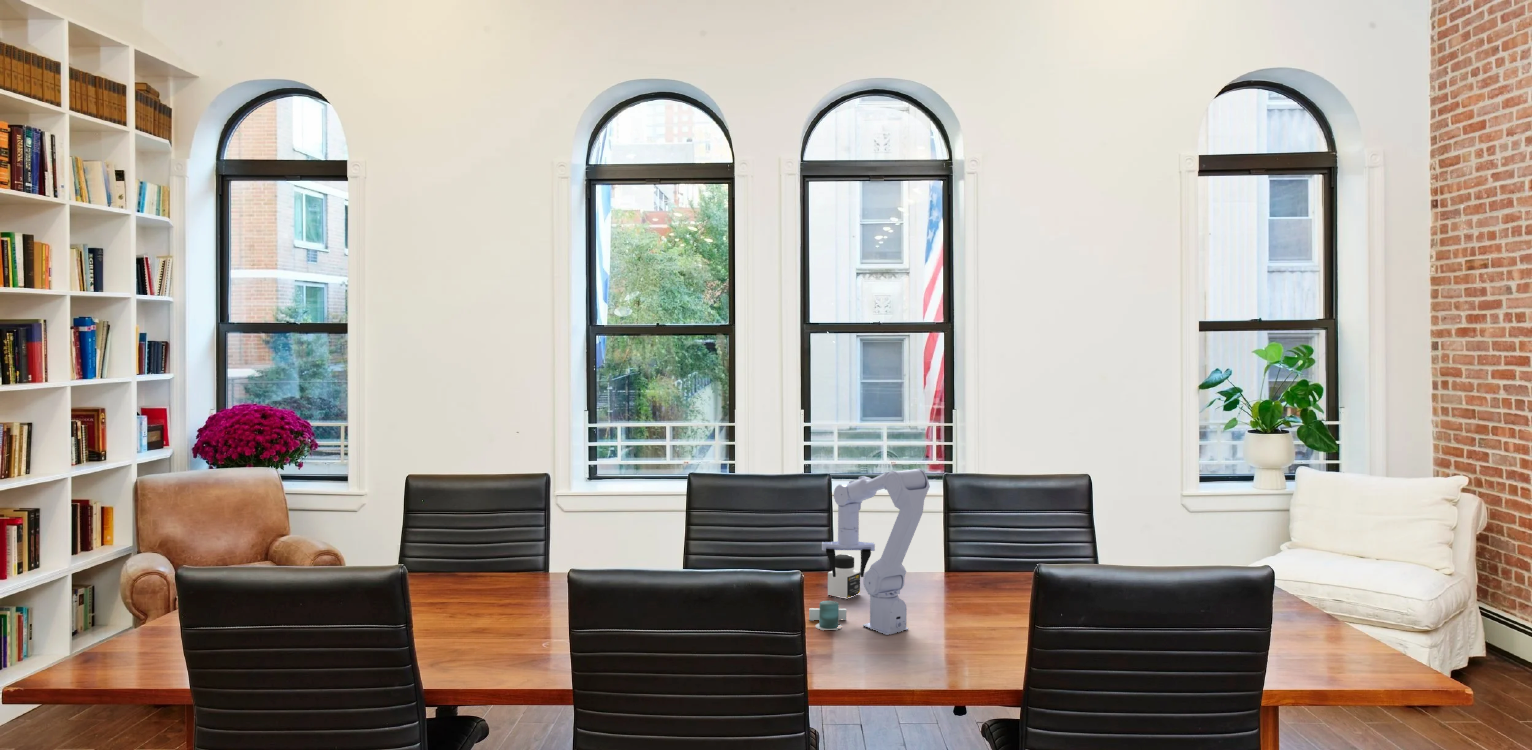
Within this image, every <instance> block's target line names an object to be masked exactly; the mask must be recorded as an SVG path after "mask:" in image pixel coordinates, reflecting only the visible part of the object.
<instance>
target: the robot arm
mask: <svg viewBox="0 0 1532 750" xmlns="http://www.w3.org/2000/svg"><path fill="white" fill-rule="evenodd" d="M883 489H884V491H885V490H886V491H887V493H888V495H889V497H890V499H891V501H892V503H893V506H894V507H895V508H897V509H898V510H899V512H898V514H897V517H896V519H895V521H894V524H893V526H892V529H891V532H890V534H889V537H888V539H887V542H886V544H885V546H884V549H883V551H882V554H881V557H880V558H879V559H877V560H876V561H875V562H874V563H872V564H870V567H869V569H868V570H867V571H865V570H866V567H867V564H868V561H869V560H870V557H871V555H872V552H875V551H876V549H875V547H876V543H875V542H869V541H868V542H866V541H859V539H860V537H859V536H860V534H859V529H860V527H859V526H860V525H859V524H860V523H859V522H860V519H859V517H860V516H859V514H860V511H861V509H862V508H861V507H862V503H863V501H866V500H869V499H871V498H874V496H876V494H877V491H881V490H883ZM929 489H930V481H929V478H928V475H927V474H926V472H925V471H924V470H923V469H922V468H915V469H906V470H905V469H903V470H891V471H886V472H884V473H882V474H879V475H877V476H876V477H875V476H874V477H873V478H871V477H868V476H866V475H861V476H858V479H856V480H849V481H848V483H847V484H838V485H837V486H836V487H835V488H834V489H833V498H834V502H835V503H836V505H837V516H838V517H837V541H825V542H824V541H822V542H821V550H822V551H824V552H825V553H826V556H827V558H828V561H829V563H830V567H831V571H832V573H833V577H836V571H835V556H836V551H860V569H859V570H860V578H863V581H862V582H863V587H864V590H865V591H866V592H867V594H868V595H869V602H870V603H869V622H868V623H864V624H862V627H864V626H865V627H864V628H866V627H868V628H867V629H869V628H870V629H869V630H872V629H873V630H872V631H874V630H876V631H875V632H877V631H878V633H880V634H882V633H883V635H886V636H890V635H893V634H897V632H898V633H900V632H901V631H902V632H904V631H903V630H906V631H909V630H908V629H910V628H909V627H907V610H908V608H907V604H906V602H905V601H904V600H903V599H902V598H900V597H899V595H900V594H901V590H903V588H904V586H905V578H906V574H907V570H906V568H905V566H904V565H903V562H904V559H905V557H906V554H907V552H908V550H909V547H910V544H911V543H912V540H913V537H914V535H915V532H916V530H917V527H918V526H919V523H920V521H921V518H922V515H923V513H924V506H925V500H926V497H927V495H928V492H929ZM902 632H901V633H902ZM889 634H890V635H889Z"/></svg>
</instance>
